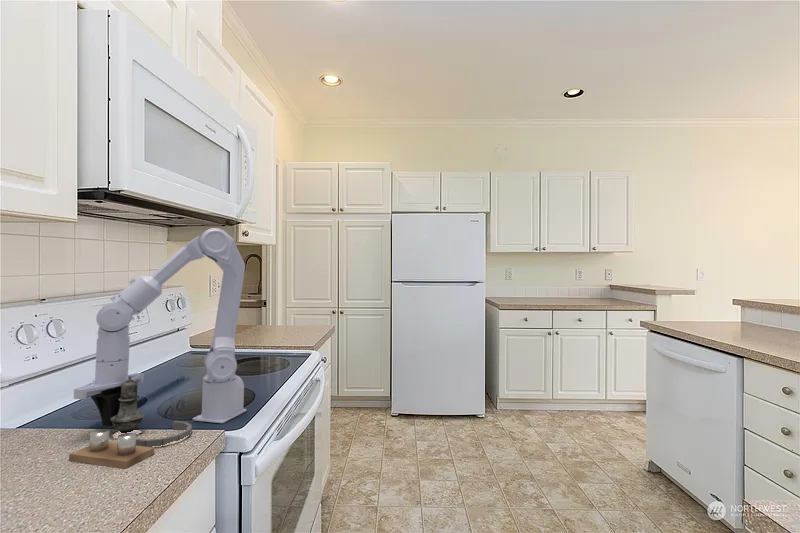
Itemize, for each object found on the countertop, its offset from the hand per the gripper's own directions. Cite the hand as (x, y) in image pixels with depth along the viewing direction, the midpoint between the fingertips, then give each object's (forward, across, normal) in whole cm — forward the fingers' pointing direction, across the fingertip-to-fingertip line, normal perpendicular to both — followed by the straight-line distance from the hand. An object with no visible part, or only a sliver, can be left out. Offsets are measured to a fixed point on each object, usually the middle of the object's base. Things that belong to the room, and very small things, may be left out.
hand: (109, 424), depth 86 cm
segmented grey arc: (+1, 0, +15) cm, 15 cm away
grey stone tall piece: (+2, 0, +4) cm, 5 cm away
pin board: (+1, +10, +12) cm, 16 cm away
